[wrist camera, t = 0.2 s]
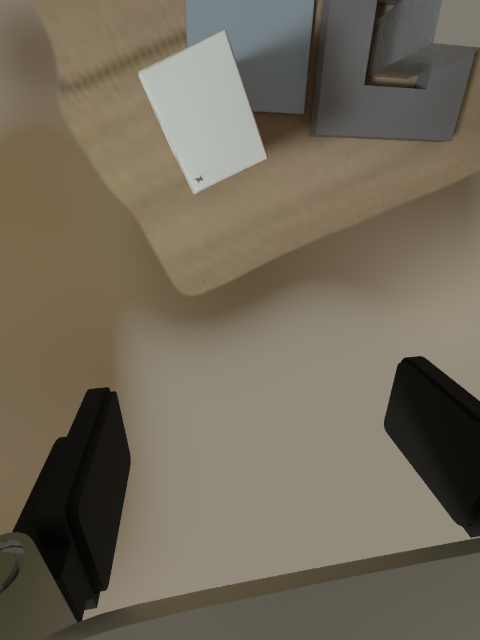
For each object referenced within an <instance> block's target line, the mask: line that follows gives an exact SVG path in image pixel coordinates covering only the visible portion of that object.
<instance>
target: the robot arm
mask: <svg viewBox="0 0 480 640" xmlns="http://www.w3.org/2000/svg"><path fill="white" fill-rule="evenodd" d="M384 427H385V430H386V432H387V434H388V435H389V436H390V438H391V439H392V440H393V441H394V443H395V444H396V446H397V447H398V448H399V449H400V451H401V452H402V453H403V455H404V456H405V457H406V459H407V460H408V461H409V463H410V464H411V465H412V466H413V468H414V469H415V470H416V472H417V473H418V474H419V476H420V477H421V478H422V479H423V481H424V482H425V483H426V485H427V486H428V487H429V489H430V490H431V491H432V493H433V494H434V495H435V497H436V498H437V499H438V501H439V502H440V503H441V504H442V506H443V507H444V508H445V510H446V511H447V512H448V513H449V515H450V516H451V518H452V519H453V520H454V521H455V522H456V523H457V524H458V525H460V526H462V527H463V528H464V529H465V531H466V532H467V533H468V534H469V536H470V537H471V538H472V537H477V536H480V401H479V400H478V399H476V398H475V397H474V396H472V395H471V394H470V393H468V392H467V391H466V390H465V389H464V388H462V387H461V386H460V385H459V384H457V383H456V382H455V381H453V380H452V379H451V378H450V377H448V376H447V375H446V374H445V373H443V372H442V371H441V370H440V369H438V368H437V367H436V366H435V365H433V364H432V363H431V362H430V361H428V360H427V359H426V358H424V357H421V356H417V357H407V358H404V359H403V360H402V361H401V363H399V364H398V366H397V370H396V374H395V378H394V382H393V386H392V391H391V395H390V399H389V403H388V408H387V411H386V416H385V420H384ZM130 459H131V458H130V451H129V447H128V442H127V438H126V433H125V428H124V424H123V419H122V415H121V410H120V406H119V401H118V397H117V393H116V392H115V391H113V392H110V389H109V388H108V387H106V388H95V389H89V390H87V392H86V394H85V396H84V399H83V401H82V403H81V406H80V408H79V410H78V412H77V415H76V417H75V419H74V421H73V424H72V426H71V428H70V431H69V433H68V435H67V437H60V438H58V439H57V440H56V442H55V443H54V445H53V447H52V449H51V451H50V453H49V456H48V458H47V460H46V462H45V464H44V466H43V468H42V470H41V472H40V475H39V477H38V479H37V481H36V483H35V485H34V487H33V489H32V491H31V494H30V496H29V498H28V500H27V502H26V504H25V506H24V508H23V510H22V513H21V515H20V517H19V519H18V521H17V523H16V525H15V528H14V529H13V532H12V533H5V534H3V535H0V640H480V538H476V539H470V540H465V541H459V542H454V543H448V544H443V545H437V546H432V547H426V548H421V549H416V550H410V551H405V552H399V553H394V554H389V555H384V556H379V557H373V558H368V559H362V560H357V561H352V562H346V563H341V564H336V565H330V566H325V567H320V568H314V569H309V570H304V571H299V572H294V573H289V574H283V575H278V576H274V577H268V578H263V579H258V580H253V581H247V582H242V583H237V584H232V585H227V586H222V587H216V588H212V589H206V590H202V591H197V592H192V593H188V594H183V595H178V596H174V597H169V598H164V599H160V600H155V601H150V602H146V603H141V604H137V605H133V606H129V607H125V608H122V609H118V610H115V611H111V612H107V613H103V614H100V615H97V616H94V617H92V618H89V619H86V620H83V621H82V618H83V614H84V610H88V609H93V608H97V605H98V600H99V595H100V591H105V590H106V589H107V588H108V584H109V580H110V575H111V569H112V563H113V558H114V553H115V547H116V542H117V536H118V531H119V525H120V520H121V514H122V509H123V503H124V498H125V492H126V487H127V481H128V476H129V470H130V463H131V461H130Z"/></svg>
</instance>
